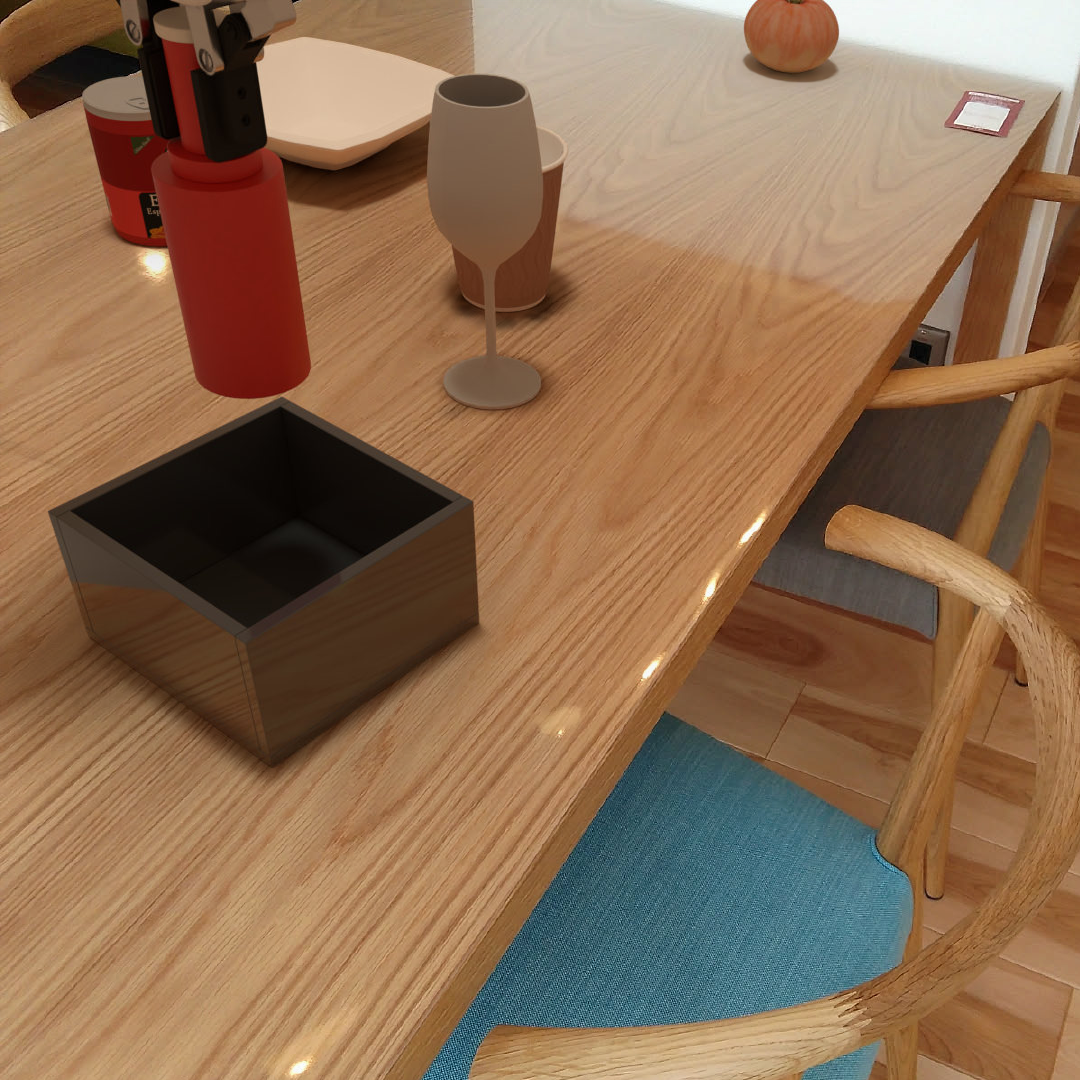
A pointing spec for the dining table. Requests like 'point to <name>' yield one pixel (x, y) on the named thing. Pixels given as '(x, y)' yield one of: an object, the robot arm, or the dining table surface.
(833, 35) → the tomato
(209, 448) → the dark square storage bin
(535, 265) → the coffee cup
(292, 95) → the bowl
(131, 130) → the canned food
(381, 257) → the dining table surface
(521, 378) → the wineglass
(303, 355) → the bottle
